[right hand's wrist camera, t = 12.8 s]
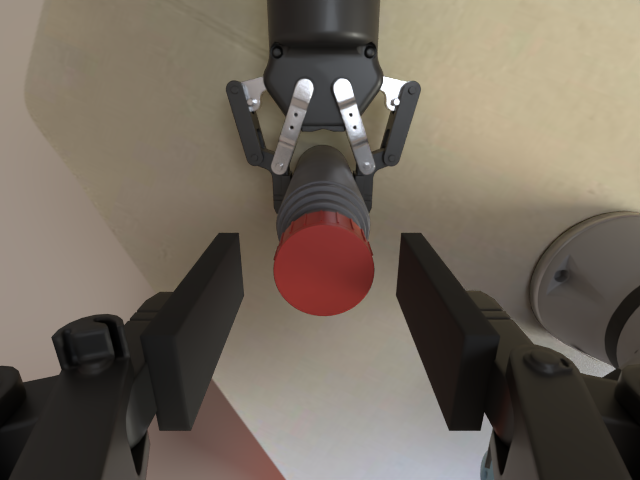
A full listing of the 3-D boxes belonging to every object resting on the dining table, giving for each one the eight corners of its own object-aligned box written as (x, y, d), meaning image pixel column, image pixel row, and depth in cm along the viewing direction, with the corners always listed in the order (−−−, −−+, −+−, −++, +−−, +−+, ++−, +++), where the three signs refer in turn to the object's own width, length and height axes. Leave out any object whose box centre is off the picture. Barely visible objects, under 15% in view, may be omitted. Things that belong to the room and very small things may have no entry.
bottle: (315, 134, 33) (307, 181, 13) (359, 165, 34) (412, 254, 14) (286, 178, 35) (237, 282, 15) (328, 206, 36) (337, 341, 16)
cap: (311, 190, 15) (310, 202, 13) (388, 243, 16) (397, 261, 14) (260, 264, 16) (252, 284, 14) (334, 309, 17) (335, 333, 15)
